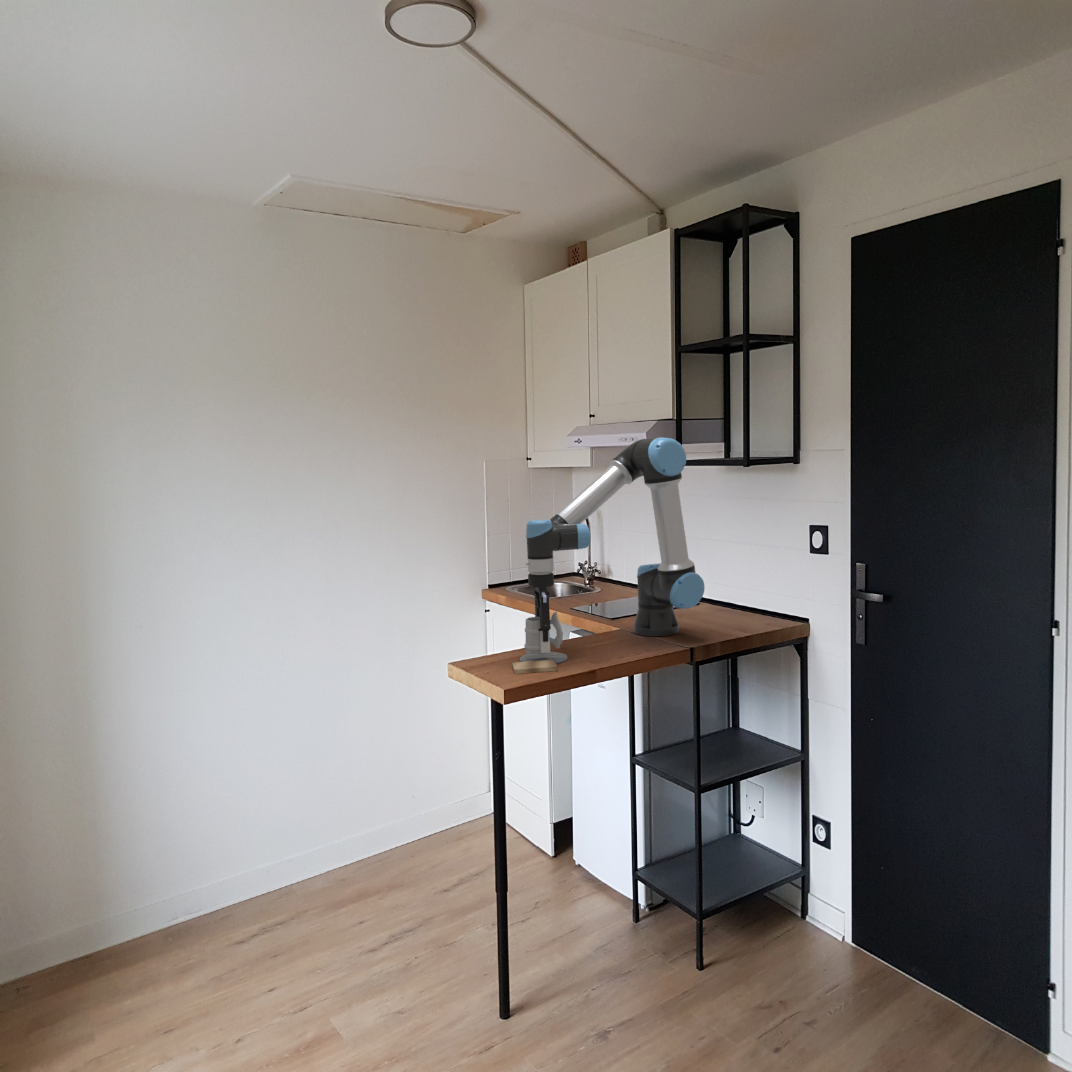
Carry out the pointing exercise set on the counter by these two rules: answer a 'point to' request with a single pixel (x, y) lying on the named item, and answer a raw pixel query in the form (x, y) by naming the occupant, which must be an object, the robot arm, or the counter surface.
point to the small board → (534, 666)
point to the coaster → (545, 657)
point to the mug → (534, 635)
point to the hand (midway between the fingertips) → (543, 648)
